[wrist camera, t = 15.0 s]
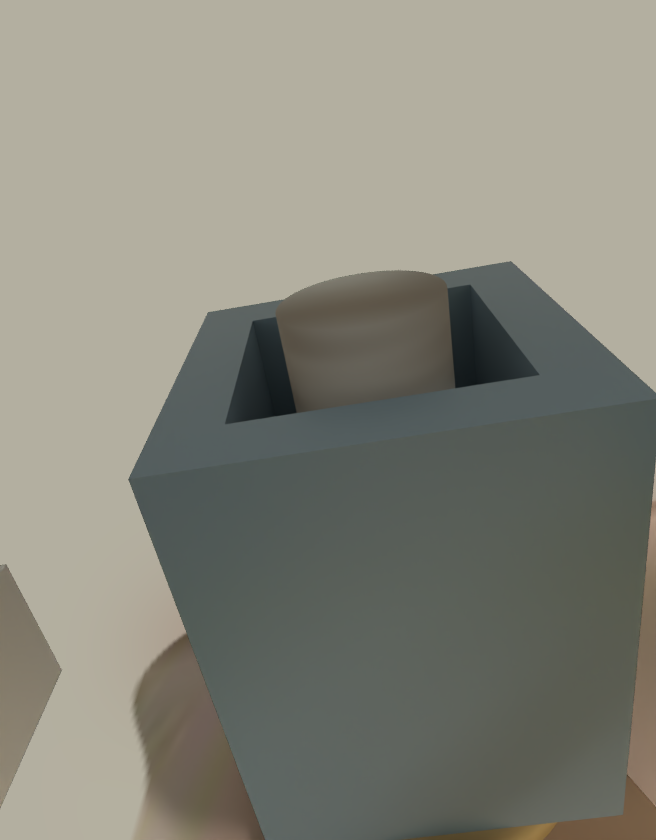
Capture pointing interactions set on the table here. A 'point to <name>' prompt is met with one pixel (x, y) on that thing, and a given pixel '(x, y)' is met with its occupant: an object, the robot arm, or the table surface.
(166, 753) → the table surface
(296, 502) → the sleeve
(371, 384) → the post stand
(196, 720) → the table surface
